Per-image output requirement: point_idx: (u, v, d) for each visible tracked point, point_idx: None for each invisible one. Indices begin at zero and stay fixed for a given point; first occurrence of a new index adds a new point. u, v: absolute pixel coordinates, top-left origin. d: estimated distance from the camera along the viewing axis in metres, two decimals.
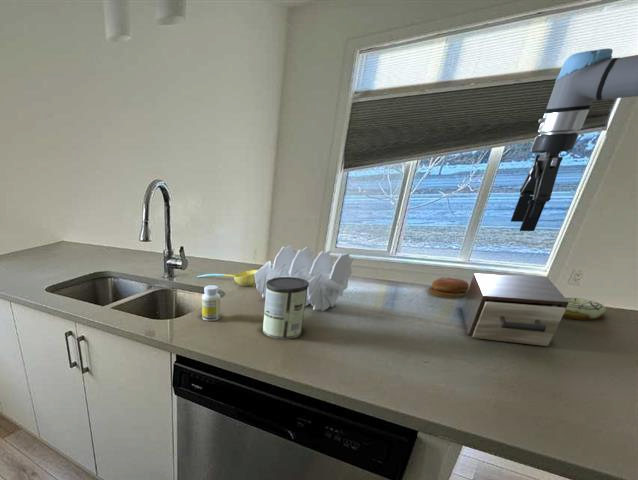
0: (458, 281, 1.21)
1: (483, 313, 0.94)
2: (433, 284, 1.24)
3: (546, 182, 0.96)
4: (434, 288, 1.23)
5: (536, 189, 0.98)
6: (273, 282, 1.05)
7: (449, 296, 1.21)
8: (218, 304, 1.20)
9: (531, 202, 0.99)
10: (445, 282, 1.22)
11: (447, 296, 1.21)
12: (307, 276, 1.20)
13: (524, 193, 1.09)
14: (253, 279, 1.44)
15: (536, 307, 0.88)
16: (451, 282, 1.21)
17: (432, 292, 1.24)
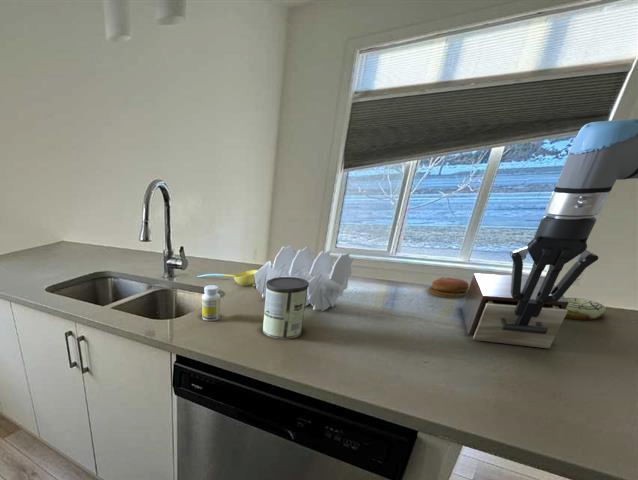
0: (458, 281, 1.21)
1: (484, 315, 0.93)
2: (433, 284, 1.24)
3: None
4: (434, 288, 1.23)
5: (551, 288, 0.82)
6: (273, 282, 1.05)
7: (449, 296, 1.21)
8: (218, 304, 1.20)
9: None
10: (445, 282, 1.22)
11: (447, 296, 1.21)
12: (307, 276, 1.20)
13: None
14: (253, 279, 1.44)
15: None
16: (451, 282, 1.21)
17: (432, 292, 1.24)
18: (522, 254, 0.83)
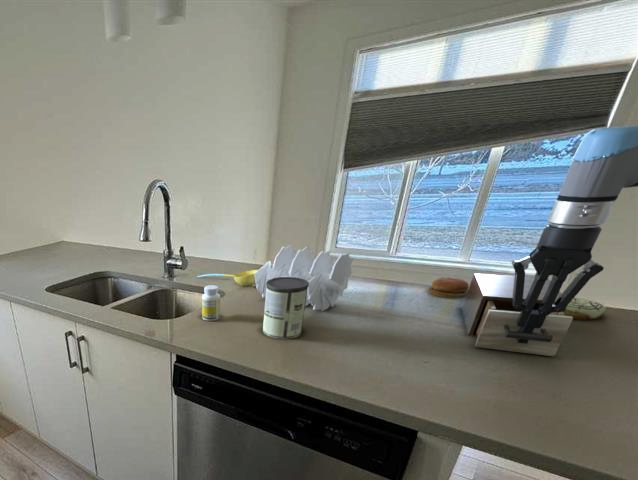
0: (458, 281, 1.21)
1: (486, 321, 0.90)
2: (433, 284, 1.24)
3: None
4: (434, 288, 1.23)
5: None
6: (273, 282, 1.05)
7: (449, 296, 1.21)
8: (218, 304, 1.20)
9: None
10: (445, 282, 1.22)
11: (447, 296, 1.21)
12: (307, 276, 1.20)
13: None
14: (253, 279, 1.44)
15: None
16: (451, 282, 1.21)
17: (432, 292, 1.24)
18: (524, 264, 0.80)
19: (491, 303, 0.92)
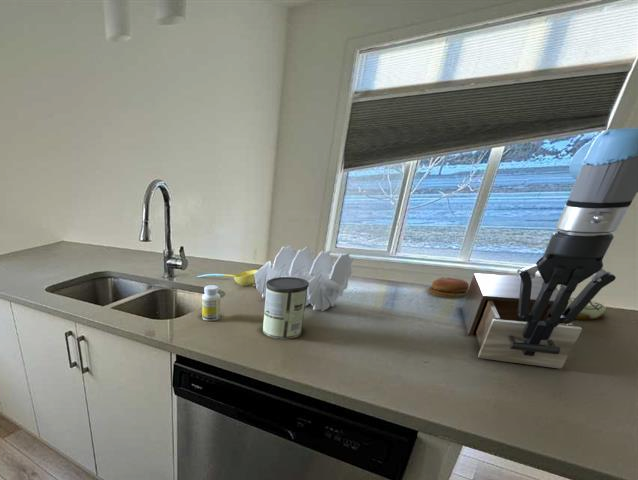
0: (458, 281, 1.21)
1: (490, 332, 0.85)
2: (433, 284, 1.24)
3: None
4: (434, 288, 1.23)
5: (563, 309, 0.75)
6: (273, 282, 1.05)
7: (449, 296, 1.21)
8: (218, 304, 1.20)
9: None
10: (445, 282, 1.22)
11: (447, 296, 1.21)
12: (307, 276, 1.20)
13: None
14: (253, 279, 1.44)
15: None
16: (451, 282, 1.21)
17: (432, 292, 1.24)
18: (531, 272, 0.76)
19: (495, 312, 0.88)
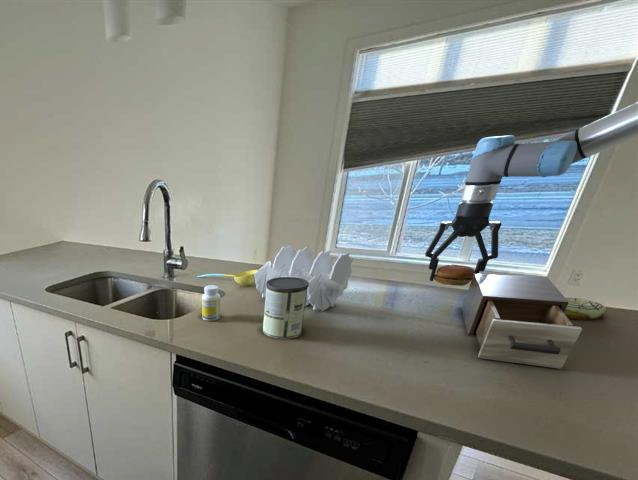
0: (464, 268, 1.18)
1: (490, 332, 0.85)
2: (438, 271, 1.22)
3: None
4: (439, 275, 1.21)
5: (485, 249, 1.14)
6: (273, 282, 1.05)
7: (454, 283, 1.18)
8: (218, 304, 1.20)
9: None
10: (450, 269, 1.19)
11: (453, 283, 1.19)
12: (307, 276, 1.20)
13: None
14: (253, 279, 1.44)
15: (549, 326, 0.80)
16: (457, 269, 1.18)
17: (437, 279, 1.22)
18: (446, 226, 1.17)
19: (495, 312, 0.88)
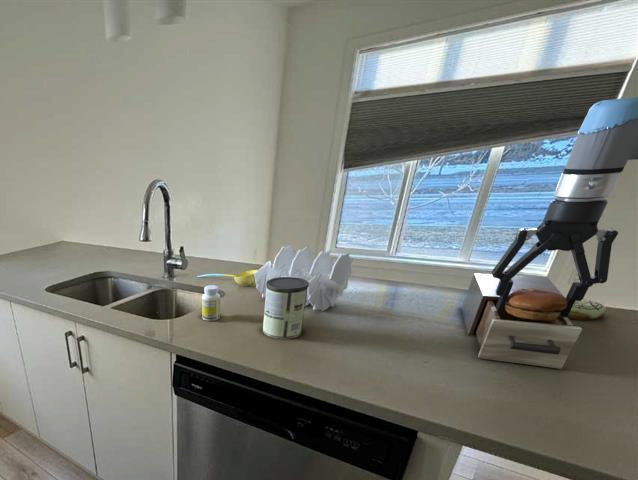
0: (551, 295, 0.82)
1: (490, 332, 0.85)
2: (511, 299, 0.85)
3: None
4: (513, 305, 0.85)
5: (588, 269, 0.78)
6: (273, 282, 1.05)
7: (537, 317, 0.82)
8: (218, 304, 1.20)
9: None
10: (531, 296, 0.83)
11: (535, 317, 0.82)
12: (307, 276, 1.20)
13: None
14: (253, 279, 1.44)
15: (549, 326, 0.80)
16: (541, 296, 0.82)
17: (510, 310, 0.85)
18: (528, 234, 0.80)
19: (495, 312, 0.88)
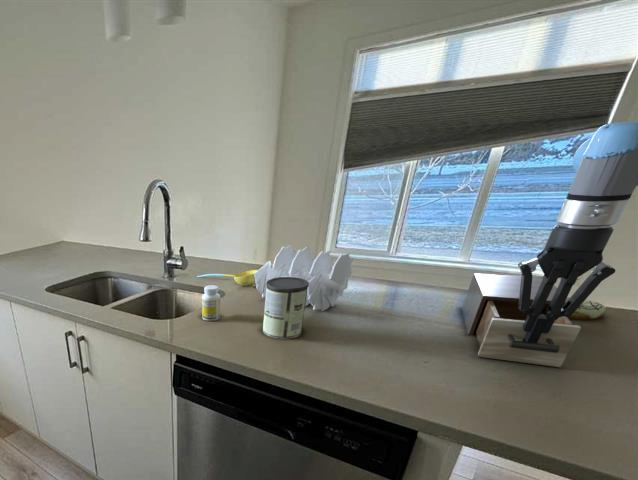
0: None
1: (489, 330, 0.86)
2: None
3: None
4: None
5: None
6: (273, 282, 1.05)
7: None
8: (218, 304, 1.20)
9: None
10: None
11: None
12: (307, 276, 1.20)
13: None
14: (253, 279, 1.44)
15: None
16: None
17: None
18: (531, 266, 0.76)
19: (494, 311, 0.89)
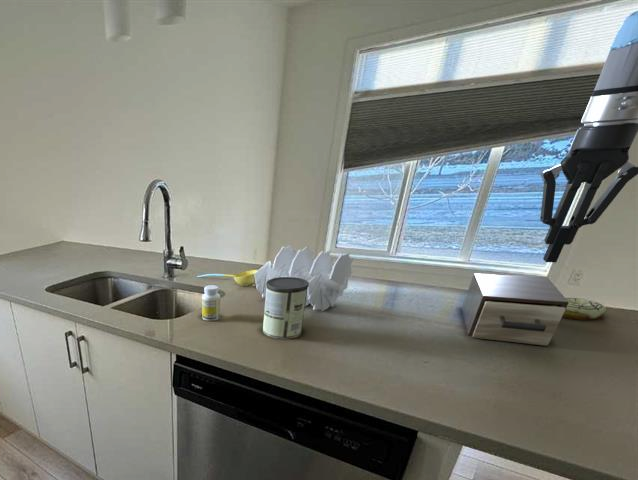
0: None
1: (483, 313, 0.94)
2: None
3: None
4: None
5: (587, 209, 0.75)
6: (273, 282, 1.05)
7: None
8: (218, 304, 1.20)
9: (577, 227, 0.77)
10: None
11: None
12: (307, 276, 1.20)
13: None
14: (253, 279, 1.44)
15: (536, 307, 0.89)
16: None
17: None
18: (555, 172, 0.75)
19: None
